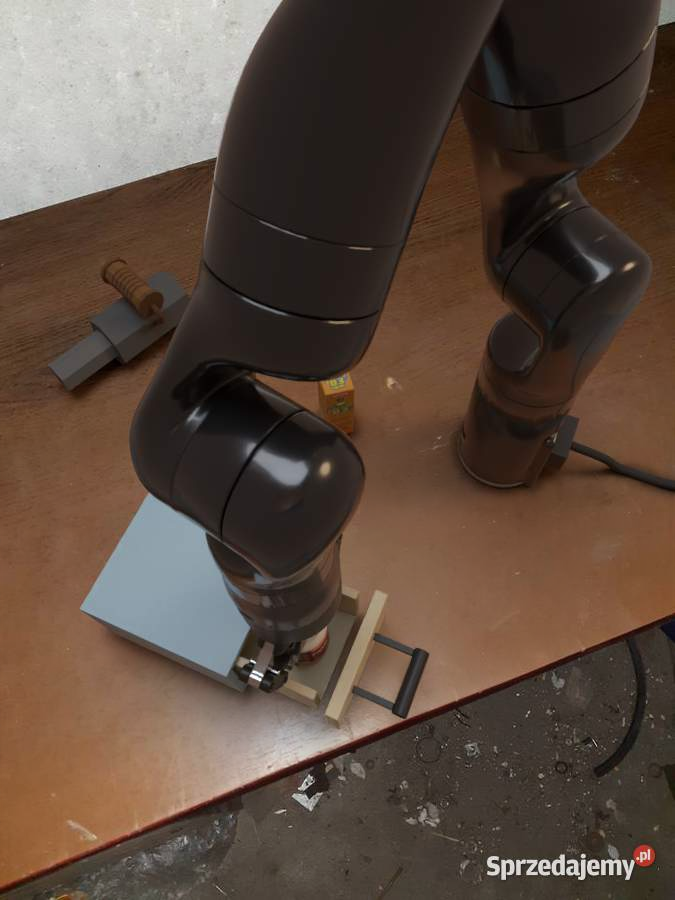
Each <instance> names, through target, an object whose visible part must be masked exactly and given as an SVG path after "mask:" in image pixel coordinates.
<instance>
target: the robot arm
mask: <svg viewBox="0 0 675 900" xmlns="http://www.w3.org/2000/svg"><path fill="white" fill-rule="evenodd" d="M661 7H662V0H281V1H280V3H279V4H278V6H277V7H276V9H275V11H274V12H273V13H272V15H271V16H270V18H269V19H268V21H267V23H266V24H265V27H264V28H263V30H262V32H261V33H260V35H259V37H258V39H257V40H256V42H255V44H254V46H253V47H252V50H251V52H250V54H249V56H248V59H247V60H246V62H245V64H244V65H243V66H244V67H243V69H242V71H241V74H240V76H239V78H238V81H237V82H236V86H235V88H234V91H233V93H232V97H231V99H230V103H229V106H228V109H227V112H226V115H225V119H224V122H223V126H222V132H221V136H220V141H219V144H218V149H217V156H216V160H215V161H216V162H215V166H214V167H215V168H214V173H213V179H212V186H211V192H210V197H209V198H210V199H209V204H208V209H207V217H206V221H205V223H206V224H205V229H204V234H203V241H202V247H201V254H200V258H199V259H200V260H199V266H198V273H197V277H196V281H195V283H194V287H193V290H192V291H191V295H190V296H189V298H190V299H189V301H188V304H187V306H186V308H185V310H184V312H183V314H182V316H181V319H180V321H179V323H178V324H177V325H176V326H175V329H174V332H173V334H172V336H171V338H170V340H169V343H168V345H167V347H166V350H165V352H164V354H163V356H162V359H161V360H160V362H159V364H158V366H157V369H156V370H155V372H154V373H153V376H152V378H151V380H150V382H149V384H148V386H147V387H146V389H145V391H144V393H143V395H142V396H141V399H140V401H139V402H138V404H137V407H136V409H135V412H134V414H133V416H132V420H131V424H130V428H129V432H128V433H129V435H128V443H129V454H130V458H131V463H132V466H133V469H134V471H135V474H136V476H137V478H138V480H139V482H140V483H141V484H142V486H143V487H144V488H145V490H146V491H147V492H148V493H150V494H151V495H152V496H154V497H155V498H156V499H157V500H159V501H160V502H162V503H163V504H165V505H166V506H168V507H169V508H171V509H172V510H174V511H175V512H177V513H178V514H180V515H181V516H183V517H184V518H186V519H187V520H189V521H190V522H192V523H193V524H195V525H196V526H198V527H199V528H201V529H202V530H204V531H205V537H206V541H207V545H208V549H209V552H210V554H211V556H212V558H213V561H214V563H215V565H216V567H217V568H218V570H219V571H220V573H221V575H222V579H223V582H224V585H225V588H226V590H227V592H228V594H229V596H230V597H231V599H232V601H233V602H234V604H235V605H236V607H237V609H238V611H239V613H240V614H241V615H242V616H243V618H244V620H245V621H246V623H247V624H248V625H249V626H250V627H251V629H252V630H253V631H254V632H255V633H256V634H257V639H256V642H257V645H258V647H259V648H260V649H261V651H260V654H259V656H258V658H257V659H254V658H250V660H249V663H247V664H245V665H244V666H243V668H241V669H240V671H239V677H238V680H240V681H242V682H244V683H246V684H248V685H249V686H250V687H253V688H255V689H257V690H259V691H262V692H263V693H266V694H268V695H269V694H271V693H273V692H276V691H275V690H277V689H279V688H281V687H283V686H284V684H285V683H286V682H287V680H288V673H289V672H287V671H285V669H287V670H289V671H291V670H292V668H293V666H294V665H295V666H299V665H300V662H301V660H302V657H301V655H300V654H301V652H302V650H303V648H304V646H305V644H306V641H307V639H309V638H311V637H313V636H315V635H316V634H318V633H319V632H321V631H322V630H323V629H324V628H325V627H326V626H327V625H328V624H329V623H330V622H331V620H332V619H333V617H334V616H335V614H336V612H337V610H338V607H339V604H340V601H341V595H342V585H343V583H342V572H341V558H340V554H341V546H342V545H341V544H342V540H343V535H344V531H345V530H346V529H347V527H348V526H349V524H350V523H351V521H352V520H353V518H354V516H355V514H356V512H357V511H358V508H359V505H361V500H362V498H363V494H364V491H365V485H366V480H367V474H366V473H367V472H366V465H365V462H364V459H363V457H362V455H361V452H360V451H359V449H358V447H357V446H356V444H355V442H354V441H353V440H352V439H351V437H350V436H349V435H348V433H347V434H346V433H345V432H344V431H342V430H341V429H340V428H339V427H337V426H336V425H335V424H333V423H332V422H330V421H328V420H327V419H325V418H323V417H321V416H320V414H318V413H316V412H315V411H312V410H310V409H309V408H308V407H306V406H303V405H302V404H300V403H298V401H295V400H294V399H292V398H290V397H288V396H287V395H285V394H284V393H281V392H280V391H279V390H276V389H275V388H273V387H271V386H269V385H268V384H266V383H264V382H263V381H262V380H259V378H257V374H259V375H263V376H266V377H270V378H276V379H281V380H286V381H292V382H301V383H302V382H303V383H304V382H305V383H318V382H320V381H327V380H332V379H335V378H338V377H341V376H343V375H344V374H346V373H348V372H349V373H350V372H352V370H354V369H355V368H356V367H357V366H358V365H359V364H360V363H361V362H362V361H363V359H364V358H365V356H366V354H367V353H368V350H369V349H370V347H371V344H372V342H373V340H374V338H375V336H376V332H377V330H378V327H379V324H380V322H381V319H382V316H383V312H384V310H385V307H386V303H387V300H388V299H389V294H390V292H391V290H392V286H393V283H394V281H395V277H396V274H397V272H398V268H399V265H400V263H401V260H402V257H403V254H404V251H405V249H406V246H407V242H408V240H409V237H410V234H411V231H412V228H413V225H414V222H415V219H416V216H417V213H418V211H419V208H420V204H421V202H422V198H423V195H424V192H425V190H426V188H427V187H426V186H427V184H428V180H429V179H430V176H431V173H432V171H433V168H434V165H435V163H436V160H437V158H438V154H439V152H440V150H441V148H442V144H443V142H444V140H445V137H446V134H447V132H448V129H449V127H450V125H451V122H452V120H453V117H454V115H455V114H456V110H457V109H458V106H459V108H460V112H461V117H462V119H463V123H464V126H465V130H466V133H467V138H468V143H469V149H470V153H471V158H472V166H473V170H474V175H475V180H476V184H477V188H478V193H479V199H480V212H481V213H480V214H481V217H480V218H481V245H482V246H481V247H482V248H481V249H482V250H481V251H482V265H483V269H484V274H485V277H486V280H487V281H488V284H489V286H490V287H491V289H492V291H493V293H494V294H495V295H496V296H497V297H498V298H499V299H500V300H501V301H502V302H503V303H504V304H505V305H506V306H507V308H509V310H510V311H508V312H507V313H505V314H504V315H502V316H501V317H500V318H499V319H498V320H497V321H496V322H495V323H494V325H493V326H492V328H491V329H490V331H489V334H488V336H487V338H486V341H485V345H484V349H483V352H482V354H481V355H482V356H481V360H480V363H479V367H478V370H477V374H476V377H475V381H474V384H473V388H472V390H471V391H472V392H471V395H470V399H469V402H468V406H467V409H466V412H465V416H464V418H463V421H462V424H461V428H460V430H459V434H458V436H457V438H456V439H457V440H456V441H457V445H456V446H457V455H458V458H459V461H460V463H461V465H462V467H463V468H464V469H465V471H466V473H468V474H469V475H470V476H471V477H472V478H473V479H475V480H476V481H478V482H480V483H481V484H483V485H486V486H489V487H493V488H497V489H498V488H499V489H511V488H515V487H519V486H521V485H523V486H527V487H530V488H531V487H534V485H535V483H536V481H537V479H538V478H539V475H540V474H541V472H542V470H543V468H544V467H545V466H546V467H549V468H551V469H554V470H557V471H561V469H562V467H563V466H564V464H565V462H566V461H567V459H568V457H569V453H570V451H572V452H575V453H577V454H580V455H582V456H584V457H588V458H591V459H593V460H595V461H598V462H600V463H602V464H604V465H605V466H607V467H609V469H611V470H613V471H615V472H617V473H619V474H622V475H624V476H627V477H629V478H633V479H635V480H638V481H641V482H644V483H647V484H651V485H654V486H657V487H660V488H665V489H669V490H674V491H675V480H674V479H669V478H664V477H661V476H657V475H654V474H651V473H647V472H644V471H642V470H639V469H636V468H633V467H630V466H628V465H626V464H622V463H621V462H618V461H617V460H615V459H614V458H613V457H611V456H610V455H608V454H606V453H604V452H602V451H600V450H598V449H595V448H592V447H591V446H587V445H585V444H583V443H579V442H577V441H574V438H575V435H576V431H577V429H578V426H579V422H580V418H578V417H576V416H573V415H570V414H569V412H570V410H571V408H572V407H573V405H574V404H575V401H576V400H577V397H578V395H579V394H580V392H581V390H582V388H583V386H584V385H585V383H586V381H587V379H588V378H589V377H590V375H591V374H592V373H593V371H595V369H596V367H597V366H598V365H599V364H600V363H601V361H602V360H603V358H604V357H605V355H606V354H607V352H608V351H609V349H610V348H611V346H612V344H613V342H614V340H615V338H616V337H617V335H618V334H619V333H620V331H621V329H622V328H623V326H624V325H625V324H626V322H627V320H628V319H629V318H630V316H631V315H632V313H633V312H634V311H635V309H636V307H637V306H638V304H639V303H640V301H641V299H642V298H643V296H644V294H645V292H646V291H647V288H648V287H649V284H650V281H651V278H652V274H653V261H652V259H651V256H650V255H649V254H648V252H647V251H645V249H644V248H643V247H642V246H640V244H638V243H637V242H636V241H635V240H633V239H632V238H631V237H629V235H627V233H626V232H624V231H623V230H622V229H621V228H620V227H619V226H618V225H616V224H615V223H614V222H613V221H611V219H609V218H608V217H607V216H605V214H603V213H602V212H601V211H600V210H599V209H597V208H596V207H595V206H594V205H593V204H592V203H591V202H590V201H589V200H588V199H587V198H586V196H585V195H584V194H583V193H582V191H581V190H580V187H579V183H578V179H577V177H579V176H580V175H582V174H583V173H585V172H586V171H588V170H589V169H591V168H593V167H594V166H595V165H597V164H598V163H599V162H601V161H602V160H603V159H605V158H606V157H607V156H608V155H609V154H610V153H611V152H612V151H613V150H615V148H616V147H617V146H618V145H619V144H620V143H621V142H622V141H623V139H624V138H625V137H626V135H627V134H628V133H629V131H630V130H631V129H632V127H633V126H634V124H635V123H636V120H637V119H638V117H639V114H640V112H641V110H642V108H643V107H644V103H645V100H646V99H647V98H646V97H647V94H648V89H649V85H650V81H651V76H652V69H653V66H654V65H653V64H654V57H655V50H656V43H657V35H658V28H659V23H660V15H661V9H662V8H661ZM248 685H247V686H248Z"/></svg>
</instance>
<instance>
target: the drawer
mask: <svg viewBox="0 0 675 900" xmlns="http://www.w3.org/2000/svg"><path fill="white" fill-rule="evenodd" d="M388 597H389V594H388V593H386V592H383V591H380V590H378V589H375V590H374V592H373V594H372V597H371V600H370V602H369V605H368V607H367V609H366V612H365V614H364V616H363V619H362V621H361V624H360V626H359V629H358V631H357V633H356V636H355V638H354V641H353V643H352V646H351V648H350V651H349V653H348V656H347V658H346V661H345V663H344V665H343V667H342V670H341V673H340V675H339V678H338V680H337V683H336V685H335V687H334V690H333V692H332V695H331V697H330V698H329V701H328V704H327V706H326V709H325V711H324V715H323V716H324V718H325V719H326V722H327V724H328V725H329V726H332V727H334V728H336V729H339V730H340V729H341V727H342V725H343V722H344V720H345V717H346V715H347V712H348V709H349V708H350V704H351V702H352V700H353V697H354V695H355V696H358V697H359V698H362V699H364V700H367V701H369V702H371V703H373V704H376V705H378V706H381V707H382V708H385V709H387V710H389V711H391V712H390V713H391V714H392V715H394V716H396V717H397V718H400V719H404V720H407V718H408V715H409V712H410V709H411V707H412V705H413V701H414V698H415V696H416V693H417V691H418V688H419V685H420V682H421V680H422V677H423V674H424V671H425V668H426V666H427V663H428V660H429V658H430V653H429V652H428V651H426V650H425V649H423V648H420V647H414V648H412V646H411V647H410V646H408V645H406V644H404V643H401V642H399V641H397V640H394V639H393V638H390V637H387V636H385V635H382V634H379V632H380V630H381V627H382V624H383V622H384V620H385V617H386V612H387V607H388V606H387V604H388ZM359 613H360V591H359V590H357V589H355V588H352V587H349V586H347V585H345V584H342V595H341V601H340V604H339V607H338V610H337V612H336V614H335V616H334V617H333V619H332V620H331V622H330V623H329V624H328V630H329V645H328V648H327V651H326V652H325V654H324V655H323V656H322V657H321V658H320V659H319V660H318V661H316V662H314V663H311V664H307V665H301V664H300V665H299V666H295V665H294V666H293V668H292V670H291V671H289V670H287V669H285V671H287V672H289V673H288V680H287V682H286V683H285V684H284V686H283V687H281V688H279V689H277V690H275V691H274V692H277V693H279V694H281V695H284V696H287V698H290V699H293V700H295V701H298V703H299V702H300V703H302V704H304V705H306V706H308V707H310V708H312V709H315V710H319V709H320V707H321V704H322V702H323V699H324V696H325V694H326V691H327V689H328V687H329V685H330V682H331V680H332V677H333V675H334V673H335V670H336V668H337V666H338V663H339V661H340V658H341V656H342V654H343V651H344V649H345V646H346V643H347V641H348V639H349V637H350V634H351V632H352V630H353V627H354V625H355V622H356V621H357V618H358V615H359ZM256 639H257V634H256V633H255V632H254V631H253V630H251V632H250V634H249V636H248V638H247V640H246V642H245V644H244V646H243V648H242V650H241V652H240V655H239V657H238V659H237V661H236V663H235V665H234V667H233V669H232V670H233V671H234V672H236V673H238V674H239V671H240V669H241V668H243V666H244V665H245V664H247V663H249V660H250V658H254V659H257V658H258V656H259V654H260V651H261V649H260V648H259V647H258V645H257V642H256ZM376 642H377V643H380V644H381V645H384V646H386V647H389V648H391V649H392V650H396V651H398V652H400V653H403V654H404V655H408V656H410V657H411V658H410V660H409V663H408V666H407V668H406V671H405V674H404V677H403V679H402V682H401V685H400V687H399V690H398V693H397V695H396V698H395V701H394V702H392V701H391V700H388V699H386V698H384V697H381V696H379V695H377V694H375V693H372V692H370V691H368V690H366V689H363V688H362V687H359V686H358V685H359V683H360V679H361V677H362V675H363V672H364V670H365V667H366V665H367V662H368V659H369V658H370V655H371V652H372V649H373V648H374V645H375V643H376Z"/></svg>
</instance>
